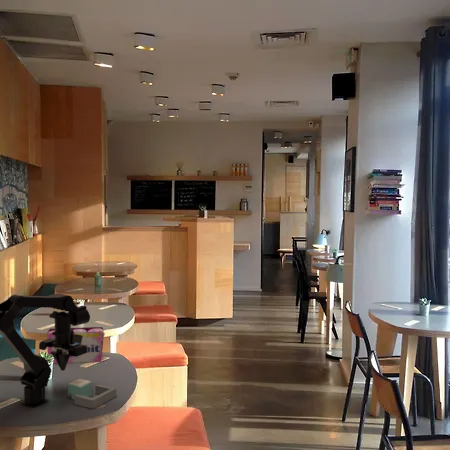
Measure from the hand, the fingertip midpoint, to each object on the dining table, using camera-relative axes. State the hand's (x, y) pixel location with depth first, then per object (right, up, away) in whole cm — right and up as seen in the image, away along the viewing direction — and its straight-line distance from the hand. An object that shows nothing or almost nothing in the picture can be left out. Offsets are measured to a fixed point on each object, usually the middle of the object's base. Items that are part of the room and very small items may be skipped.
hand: (63, 370), depth 198 cm
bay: (+13, -9, -6) cm, 17 cm away
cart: (+7, -9, -3) cm, 12 cm away
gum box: (-6, -6, +37) cm, 38 cm away
